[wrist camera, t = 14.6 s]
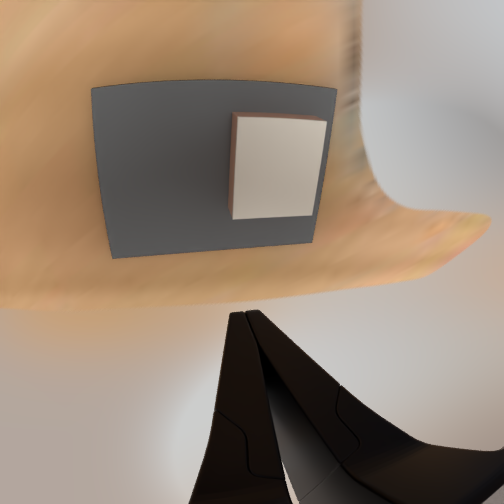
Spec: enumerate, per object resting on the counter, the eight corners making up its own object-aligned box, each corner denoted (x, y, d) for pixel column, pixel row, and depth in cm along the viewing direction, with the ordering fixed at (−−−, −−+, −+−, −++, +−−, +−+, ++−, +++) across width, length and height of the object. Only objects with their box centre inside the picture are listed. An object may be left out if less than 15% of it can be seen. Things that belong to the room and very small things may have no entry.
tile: (232, 219, 19) (312, 215, 20) (238, 117, 15) (326, 121, 17) (227, 207, 20) (302, 203, 21) (232, 111, 17) (315, 115, 18)
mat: (113, 255, 20) (112, 258, 20) (92, 88, 14) (91, 88, 14) (309, 239, 24) (311, 242, 23) (334, 88, 17) (337, 89, 17)
